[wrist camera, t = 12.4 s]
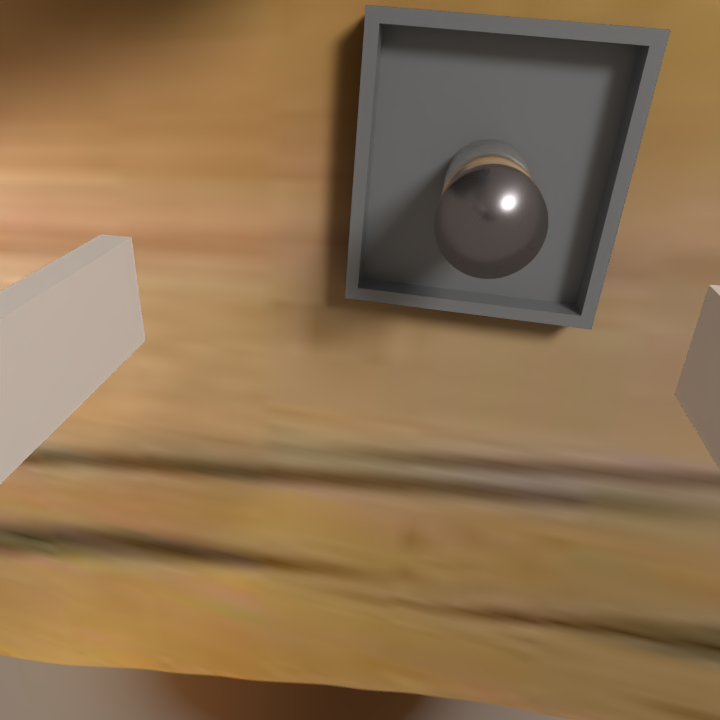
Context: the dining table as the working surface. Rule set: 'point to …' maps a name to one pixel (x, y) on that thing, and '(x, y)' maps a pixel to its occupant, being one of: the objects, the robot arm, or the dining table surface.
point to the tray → (505, 123)
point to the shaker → (490, 212)
